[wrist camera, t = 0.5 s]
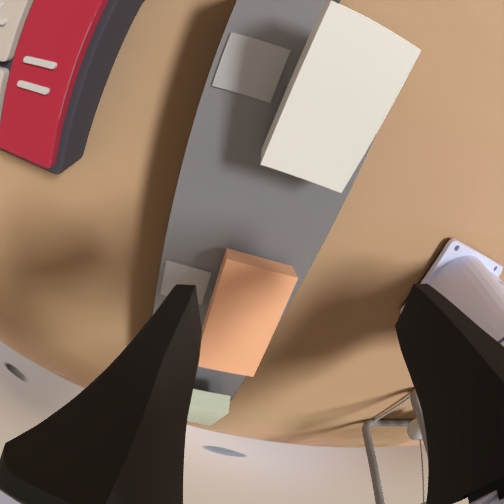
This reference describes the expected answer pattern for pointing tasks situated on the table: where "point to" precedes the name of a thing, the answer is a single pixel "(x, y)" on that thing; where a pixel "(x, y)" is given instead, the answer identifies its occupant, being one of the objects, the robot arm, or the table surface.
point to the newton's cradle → (414, 426)
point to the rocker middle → (244, 312)
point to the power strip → (245, 167)
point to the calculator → (56, 73)
